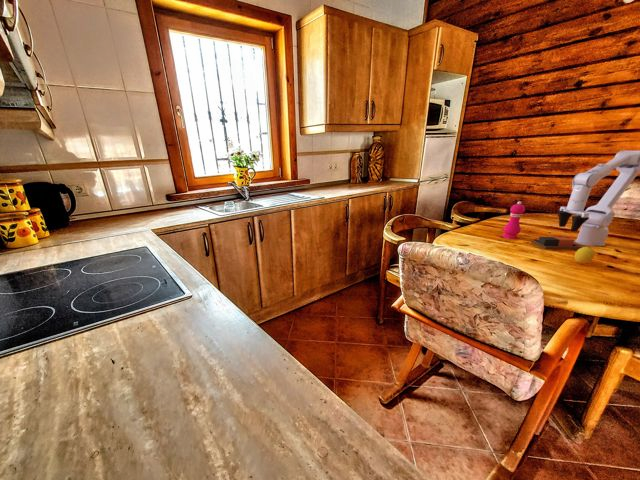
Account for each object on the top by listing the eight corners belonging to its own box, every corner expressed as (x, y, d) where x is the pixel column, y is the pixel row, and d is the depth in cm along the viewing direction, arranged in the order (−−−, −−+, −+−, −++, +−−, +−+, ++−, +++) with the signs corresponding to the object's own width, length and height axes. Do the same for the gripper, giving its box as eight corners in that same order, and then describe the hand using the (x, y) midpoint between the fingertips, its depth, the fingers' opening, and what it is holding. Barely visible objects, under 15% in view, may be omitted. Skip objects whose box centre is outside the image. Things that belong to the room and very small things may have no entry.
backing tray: (565, 243, 139) (566, 239, 138) (581, 250, 130) (582, 246, 129) (531, 243, 142) (532, 239, 141) (544, 250, 133) (545, 246, 132)
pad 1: (550, 244, 138) (553, 236, 136) (556, 247, 134) (559, 239, 132) (536, 244, 139) (539, 236, 137) (542, 247, 135) (545, 239, 133)
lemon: (582, 261, 119) (589, 244, 116) (593, 267, 114) (601, 249, 111) (567, 262, 120) (574, 244, 117) (579, 267, 115) (586, 249, 112)
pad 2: (564, 244, 137) (567, 236, 135) (571, 247, 133) (574, 239, 131) (551, 244, 138) (553, 236, 136) (557, 247, 134) (560, 239, 132)
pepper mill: (518, 240, 146) (529, 202, 138) (501, 239, 150) (511, 202, 142) (517, 236, 152) (527, 200, 144) (501, 235, 156) (510, 199, 148)
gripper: (556, 197, 134) (547, 224, 139) (580, 203, 121) (569, 233, 126) (573, 197, 133) (563, 224, 138) (599, 203, 119) (587, 233, 125)
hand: (567, 228), depth 132 cm, fingers open, 7 cm apart
